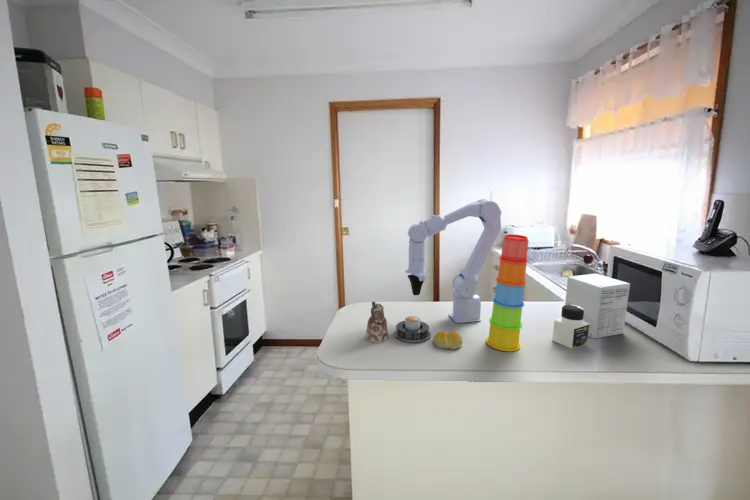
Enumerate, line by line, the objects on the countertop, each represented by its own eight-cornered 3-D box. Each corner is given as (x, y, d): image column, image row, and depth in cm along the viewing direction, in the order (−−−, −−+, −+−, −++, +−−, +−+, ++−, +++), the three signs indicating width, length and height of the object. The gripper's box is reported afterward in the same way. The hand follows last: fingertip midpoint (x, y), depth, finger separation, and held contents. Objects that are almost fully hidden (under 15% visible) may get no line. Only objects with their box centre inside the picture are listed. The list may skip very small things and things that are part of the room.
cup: (417, 329, 126) (417, 314, 125) (422, 335, 121) (422, 320, 120) (403, 331, 125) (403, 316, 124) (407, 337, 120) (407, 322, 119)
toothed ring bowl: (424, 326, 130) (424, 318, 129) (435, 341, 118) (435, 332, 118) (390, 329, 128) (390, 320, 127) (399, 344, 116) (399, 335, 116)
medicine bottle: (572, 349, 112) (576, 312, 110) (551, 340, 118) (555, 305, 116) (587, 344, 115) (591, 308, 113) (566, 336, 122) (570, 301, 119)
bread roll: (434, 337, 122) (434, 326, 121) (462, 340, 120) (462, 328, 119) (431, 349, 114) (432, 336, 113) (461, 352, 112) (462, 339, 111)
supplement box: (624, 333, 123) (631, 283, 119) (593, 339, 119) (600, 287, 115) (590, 319, 135) (596, 272, 132) (561, 323, 132) (566, 276, 128)
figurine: (370, 344, 117) (370, 308, 114) (363, 335, 123) (362, 301, 121) (391, 340, 119) (391, 305, 117) (382, 332, 126) (382, 298, 123)
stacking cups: (505, 335, 123) (513, 231, 115) (527, 348, 113) (537, 237, 106) (479, 339, 119) (485, 233, 112) (499, 354, 110) (507, 239, 103)
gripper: (400, 254, 138) (400, 289, 141) (411, 263, 124) (410, 302, 127) (419, 253, 139) (418, 288, 142) (431, 262, 125) (430, 300, 128)
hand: (416, 294), depth 135 cm, fingers closed
